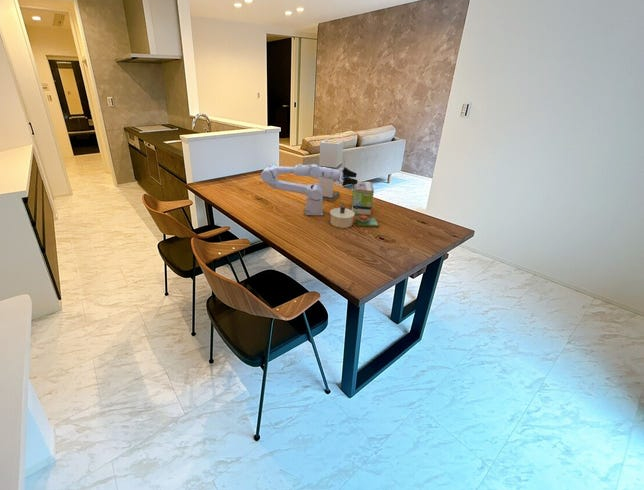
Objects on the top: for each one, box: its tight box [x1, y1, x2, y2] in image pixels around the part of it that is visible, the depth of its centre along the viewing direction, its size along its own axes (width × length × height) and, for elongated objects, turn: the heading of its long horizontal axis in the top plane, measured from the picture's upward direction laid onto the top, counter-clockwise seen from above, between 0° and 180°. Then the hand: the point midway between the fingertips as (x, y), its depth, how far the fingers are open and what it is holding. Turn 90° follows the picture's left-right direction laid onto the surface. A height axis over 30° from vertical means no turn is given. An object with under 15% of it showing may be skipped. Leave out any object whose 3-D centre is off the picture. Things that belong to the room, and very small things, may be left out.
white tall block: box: [317, 138, 345, 202], centre depth 182 cm, size 11×11×35 cm
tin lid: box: [329, 205, 356, 219], centre depth 152 cm, size 12×12×4 cm
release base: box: [355, 215, 379, 228], centre depth 154 cm, size 10×8×3 cm
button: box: [359, 214, 368, 220], centre depth 153 cm, size 3×3×2 cm
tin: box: [329, 214, 354, 229], centre depth 154 cm, size 11×11×5 cm
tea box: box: [351, 180, 375, 216], centre depth 167 cm, size 15×10×15 cm
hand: (356, 178), depth 156 cm, fingers open, 7 cm apart
